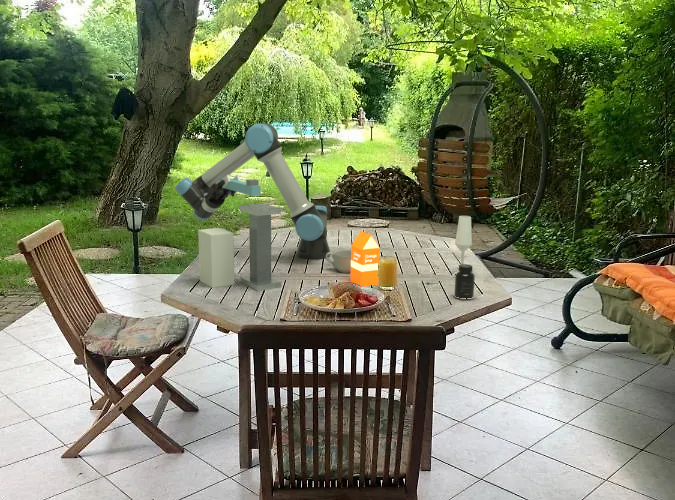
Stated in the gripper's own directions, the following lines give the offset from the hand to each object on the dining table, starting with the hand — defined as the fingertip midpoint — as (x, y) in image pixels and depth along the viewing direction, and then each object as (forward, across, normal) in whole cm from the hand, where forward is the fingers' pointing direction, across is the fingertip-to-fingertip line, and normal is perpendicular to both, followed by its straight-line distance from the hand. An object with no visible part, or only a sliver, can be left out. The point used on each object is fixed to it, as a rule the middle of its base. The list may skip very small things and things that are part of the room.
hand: (233, 177), depth 252 cm
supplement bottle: (+43, -57, -70) cm, 100 cm away
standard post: (-2, -2, -43) cm, 43 cm away
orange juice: (+13, -37, -52) cm, 66 cm away
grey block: (-12, +12, -38) cm, 41 cm away
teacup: (-4, -40, -42) cm, 59 cm away
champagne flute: (+22, -80, -57) cm, 101 cm away
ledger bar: (+2, 0, -6) cm, 7 cm away
